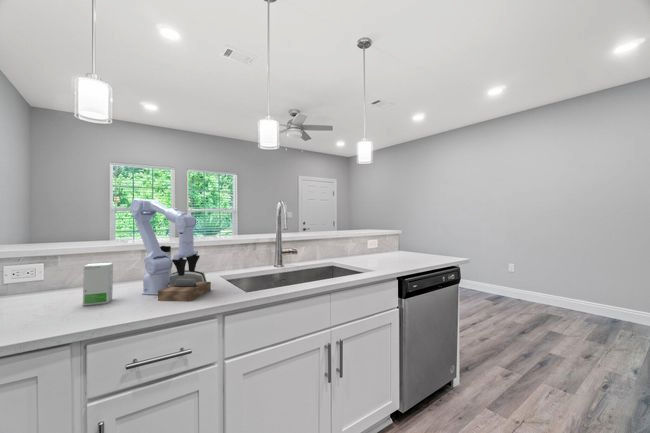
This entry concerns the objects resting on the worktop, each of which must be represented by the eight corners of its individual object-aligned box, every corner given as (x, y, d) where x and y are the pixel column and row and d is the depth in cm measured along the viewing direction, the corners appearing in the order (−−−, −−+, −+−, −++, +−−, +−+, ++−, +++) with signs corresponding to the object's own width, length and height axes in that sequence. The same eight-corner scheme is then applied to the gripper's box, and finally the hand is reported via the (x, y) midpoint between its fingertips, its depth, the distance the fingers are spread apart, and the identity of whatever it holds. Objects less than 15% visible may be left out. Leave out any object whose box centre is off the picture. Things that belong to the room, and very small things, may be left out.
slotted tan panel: (157, 300, 110) (157, 290, 110) (182, 289, 126) (182, 281, 126) (190, 301, 109) (190, 291, 109) (210, 290, 125) (210, 281, 125)
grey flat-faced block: (176, 295, 117) (175, 279, 117) (179, 294, 119) (178, 278, 119) (193, 296, 116) (193, 280, 116) (196, 294, 118) (195, 278, 118)
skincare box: (82, 306, 104) (81, 266, 104) (88, 301, 110) (88, 263, 110) (109, 303, 108) (108, 264, 108) (113, 298, 114) (113, 261, 114)
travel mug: (156, 286, 133) (156, 246, 133) (157, 283, 139) (157, 245, 139) (171, 285, 136) (170, 245, 136) (171, 282, 142) (171, 244, 142)
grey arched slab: (208, 284, 136) (206, 267, 132) (205, 290, 131) (203, 272, 128) (174, 285, 134) (170, 268, 131) (170, 291, 130) (166, 273, 126)
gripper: (184, 244, 110) (185, 277, 110) (204, 241, 125) (204, 270, 125) (168, 244, 111) (169, 277, 111) (189, 241, 125) (190, 270, 125)
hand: (186, 273), depth 118 cm, fingers open, 7 cm apart
